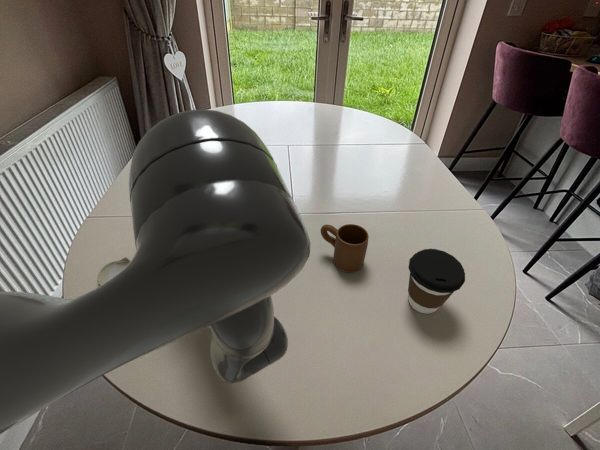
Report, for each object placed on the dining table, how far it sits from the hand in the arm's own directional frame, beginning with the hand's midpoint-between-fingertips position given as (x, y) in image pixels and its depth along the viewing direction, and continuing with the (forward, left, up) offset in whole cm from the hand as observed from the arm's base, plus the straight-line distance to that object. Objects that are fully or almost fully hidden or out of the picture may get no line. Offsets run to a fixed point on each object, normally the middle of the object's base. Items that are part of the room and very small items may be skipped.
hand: (184, 213), depth 68 cm
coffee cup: (+34, -39, -18) cm, 55 cm away
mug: (+29, -18, -18) cm, 39 cm away
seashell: (-16, +10, -18) cm, 26 cm away
